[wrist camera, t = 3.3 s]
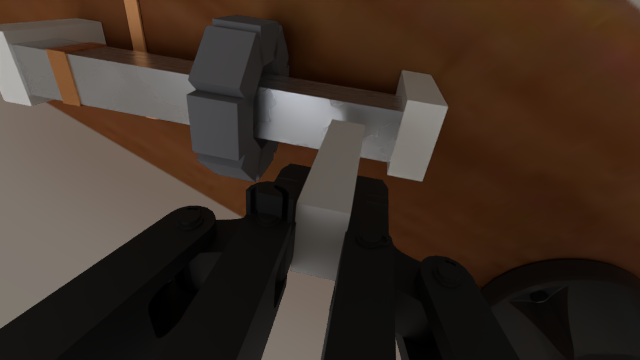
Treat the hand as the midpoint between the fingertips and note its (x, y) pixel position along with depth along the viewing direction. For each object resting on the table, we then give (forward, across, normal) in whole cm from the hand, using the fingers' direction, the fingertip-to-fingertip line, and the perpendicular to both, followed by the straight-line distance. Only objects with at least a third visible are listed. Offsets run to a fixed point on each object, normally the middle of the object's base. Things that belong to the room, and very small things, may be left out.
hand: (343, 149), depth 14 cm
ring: (+10, +6, 0) cm, 12 cm away
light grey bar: (+6, +9, 0) cm, 11 cm away
